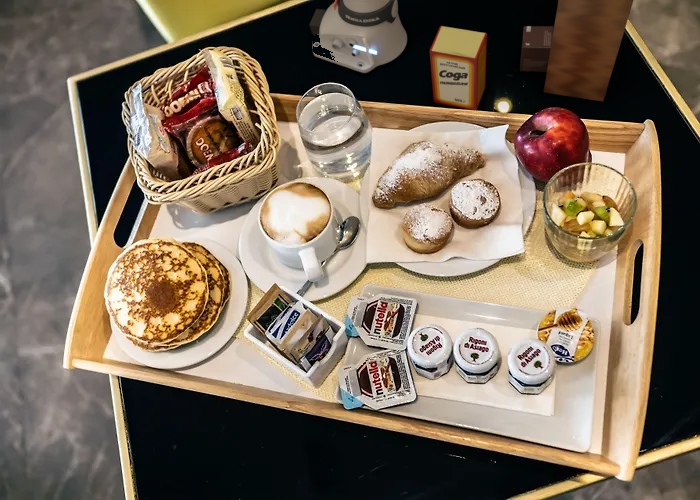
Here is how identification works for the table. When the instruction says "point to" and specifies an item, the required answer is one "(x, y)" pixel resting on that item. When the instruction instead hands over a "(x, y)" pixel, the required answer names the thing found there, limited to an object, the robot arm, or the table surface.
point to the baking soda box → (458, 67)
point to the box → (536, 48)
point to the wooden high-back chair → (585, 46)
